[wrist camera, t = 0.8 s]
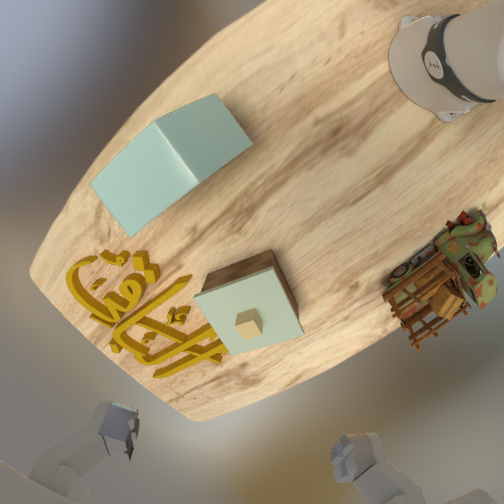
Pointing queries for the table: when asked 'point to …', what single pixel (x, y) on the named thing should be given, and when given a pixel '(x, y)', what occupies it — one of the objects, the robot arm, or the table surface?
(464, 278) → the toy truck
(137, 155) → the planter
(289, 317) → the lid
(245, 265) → the walnut box
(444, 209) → the table surface
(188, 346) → the decorative art
